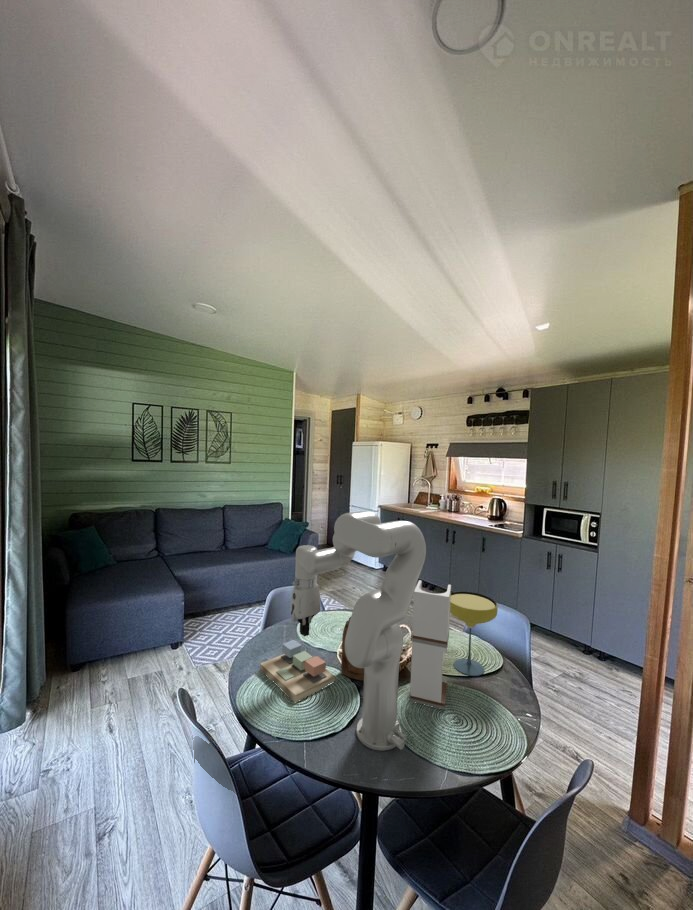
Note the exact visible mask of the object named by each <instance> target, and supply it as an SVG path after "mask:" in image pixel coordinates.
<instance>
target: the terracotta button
mask: <svg viewBox="0 0 693 910" xmlns="http://www.w3.org/2000/svg"><path fill="white" fill-rule="evenodd" d="M326 667H327V662H326V661H325V660H323V659H322V658H320V657H319V656H318V655H315V656H313V658H310V659H308V660H306V661H305V670H306V671H307V672H308V673H310V674H311V675H312V676H313V677H314V676H316V675H318V674H320V673H322V672H325V671H326V670H327V669H326Z"/></svg>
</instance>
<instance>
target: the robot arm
mask: <svg viewBox="0 0 693 910" xmlns="http://www.w3.org/2000/svg"><path fill="white" fill-rule="evenodd" d="M333 531H334V534H333V536H332V544H333V547H329V548H328V547H326V548H323V549H318V548H317V547H316V546H314V545H311V544H307V545H305V544H304V545H298V547H297V548H296V550H295V568H294V569H295V572H294V573H295V574H294V575H295V576H294V577H295V578H294V581H292V586H293V589H292V592H291V593H292V594H291V599H290V615H291V618H290V621H292V622H293V623H294V622H298V623H299V633H300V635H302V636H303V637H307V636H309V635H310V624H311V623H312V619H313V618H314V617H315V616H316V615H318V614H319V613H320V612H321V605H322V604H321V592H320V586H319V584H318V583H317V580H318V579H317V578H318V577H317V576H318V575H320V574H324V573H327V572H328V573H329V572H331V571H336V570H339V569H341V568H342V567H344V566H345V565H346V564H348V563H350V562H351V561H352V560H353V559H354V556H355V553H356V552H359V553H361V554H364V555H365V556H368V557H371V558H376V559H377V558H378V559H379V558H385V557H388V556H392V555H395V557H394V558H393V559H392V561H390V563H389V565H388V566H387V569H386V571H385V573H384V574H385V575H384V579H383V582H382V583H381V585H380V587H379V588H377V589H375V590H373V591H370V592H366V593H364V594H363V595H361V596H360V597H359V598H358V599H357V601H356V602H355V604H354V607H353V609H352V613H351V615H350V617H351V619H350V623H349V626H348V630H347V633H346V637H345V653H346V656H347V659H348V661H349V662H350V663H351V664H352V665H353V666H355V667H357V668H365V669H364V680H363V692H362V693H363V697H362V717H361V718H360V719H359V720H358V721H357V724H356V732H355V733H356V736H357V738H358V740H359V741H360V742H361V744H362V745H363V746H366V747H367V748H368V749H371V750H374V751H389V750H392V749H394V748H398V749H399V750H403V749H404V747H405V744H406V743H405V741H406V740H407V735H406V733H404V732H402V727H401V725H400V724H401V723H400V721H398V720H397V718H398V717H397V716H398V697H399V695H398V694H399V693H398V691H399V673H400V672H399V671H400V669H399V668H400V661H401V657H402V656H401V655H402V651H403V646H404V633H403V629H402V627H401V625H400V624H399V623H400V622H402V621H403V620H404V619H405V618H406V617H407V614H408V612H409V610H410V609H409V608H410V606H411V603H412V600H413V598H414V591H415V588H416V586H417V584H418V581H419V577H420V575H421V573H422V570H423V568H424V567H423V566H424V564H425V560H426V555H427V547H426V546H427V545H426V541H425V537H424V534H423V532H422V531H421V528H420V527H418V526H417V525H416V524H415V523H413V522H412V521H410V520H408V521H407V520H395V521H394V520H393V521H388V522H382V520H381V518H380V517H379V516H378V514H376V513H375V512H373V511H370V510H369V511H368V510H363V511H362V510H360V511H354V512H353V511H351V512H345V513H343V514H341V515H340V516H339V517H337V519H336V520H335V522H334V526H333Z"/></svg>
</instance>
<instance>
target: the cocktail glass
mask: <svg viewBox="0 0 693 910" xmlns="http://www.w3.org/2000/svg"><path fill="white" fill-rule="evenodd" d="M498 608H499V607H498V603H497V602H496V600H494V599H493V598H491V597H489V596H487V595H485V594H481V593H477V592H472V591H471V592H470V591H455V592H451V598H450V615H452V616H453V617H455V618H456V619H458V620H460V621H462V622H464V623H465V625H466V626H467V628H469V633H468V634H469V635H468V639H469V640H468V652H467V653H468V654H467V658H458V659H456V660H454V662H453V666H454V668H455V669H456V671H458V672H459V673H461V674H464V675H465V676H470V677H479V676H481V675H483V674H484V673H485V667H484V666H483V665H482V664H481V663H480V662H478V661H476V660H473V659H472V658H471V656H472V655H471V653H472V652H471V651H472V649H471V648H472V647H471V645H472V629H473V628H474V627H476V626H477V625H478V624H479V625H481V624H485V623H489V622H492V621H493V620H495V618H496V617H497V614H498V610H499V609H498Z"/></svg>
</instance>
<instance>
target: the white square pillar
mask: <svg viewBox="0 0 693 910" xmlns="http://www.w3.org/2000/svg"><path fill="white" fill-rule="evenodd" d="M422 582H423V581H422V580H420V579H418V581H417V584H416V587H415V591H414V594H413V607H412V608H413V609H412V610H413V611H412V635H411V637H412V639H411V664H410V665H411V666H410V688H409V689H410V690H409V692H410V693H409V702H410V701H411V702H410V703H413V702H414V703H413V704H416V703H420V704H425V705H429V706H433V707H436V708H441V709H445V708H446V702H445V701H447V693H446V692H448V682H446V681H443V665H444V664H443V663H445V654H447V653H448V646H449V637H450V622H451V621H450V619H451V618H450V617H451V613H450V598H451V593H452V584H448V585H447V590H446V591H445V592H441V593H434V592H433V593H432V592H427V591H425V590H423V589H422ZM415 702H416V703H415ZM420 704H419V705H420ZM436 708H435V709H436ZM445 710H446V709H445Z"/></svg>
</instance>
